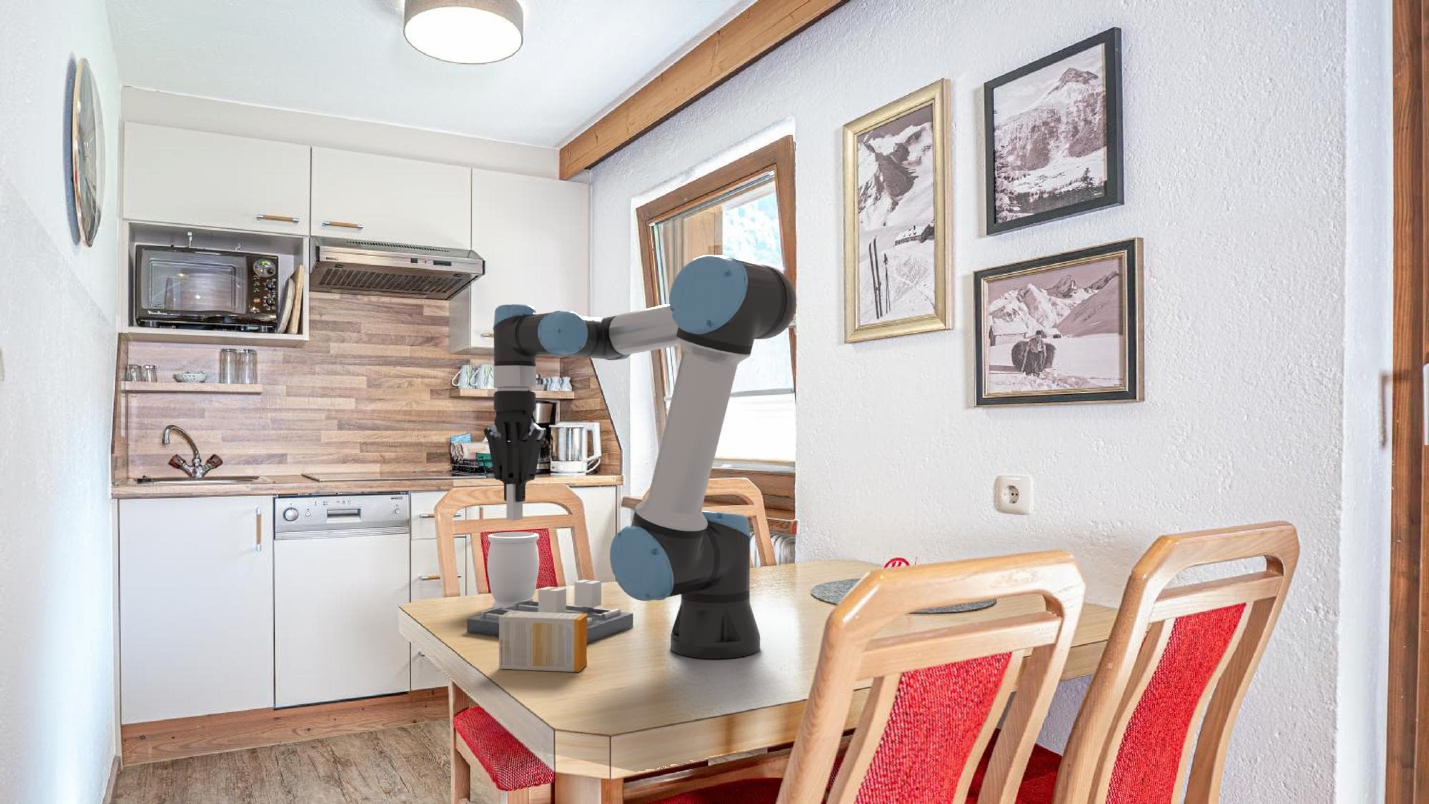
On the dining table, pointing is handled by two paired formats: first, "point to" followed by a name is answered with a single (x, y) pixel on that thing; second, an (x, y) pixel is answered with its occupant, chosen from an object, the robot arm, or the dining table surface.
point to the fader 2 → (587, 594)
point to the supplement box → (543, 641)
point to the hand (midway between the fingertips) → (514, 519)
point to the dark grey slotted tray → (597, 621)
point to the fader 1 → (552, 600)
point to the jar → (512, 567)
